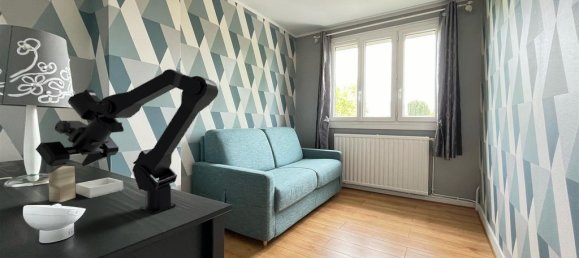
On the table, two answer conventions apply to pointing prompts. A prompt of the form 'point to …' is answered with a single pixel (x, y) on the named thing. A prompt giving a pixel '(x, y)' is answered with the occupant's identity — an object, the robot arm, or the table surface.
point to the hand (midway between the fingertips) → (66, 168)
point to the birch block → (62, 184)
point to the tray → (99, 187)
